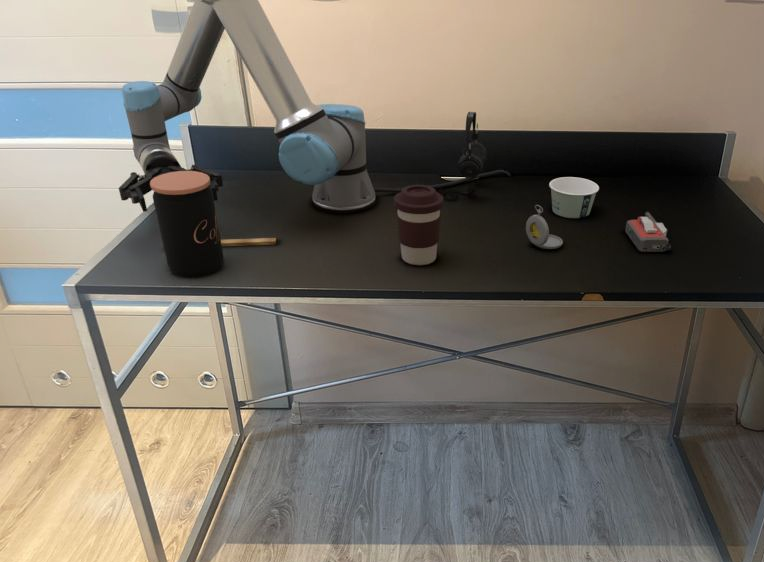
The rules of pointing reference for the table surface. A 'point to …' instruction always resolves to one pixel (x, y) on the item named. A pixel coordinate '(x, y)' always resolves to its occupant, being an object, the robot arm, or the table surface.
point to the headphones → (471, 153)
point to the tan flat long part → (249, 242)
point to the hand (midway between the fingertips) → (180, 199)
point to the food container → (572, 196)
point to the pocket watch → (541, 232)
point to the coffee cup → (418, 223)
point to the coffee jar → (188, 222)
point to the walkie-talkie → (648, 234)
